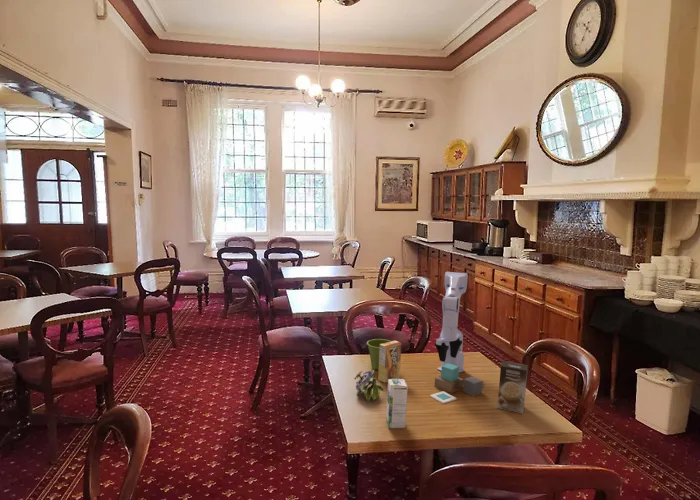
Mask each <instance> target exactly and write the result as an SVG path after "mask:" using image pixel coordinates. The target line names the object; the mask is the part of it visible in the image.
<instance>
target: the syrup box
mask: <svg viewBox="0 0 700 500" xmlns="http://www.w3.org/2000/svg"><path fill="white" fill-rule="evenodd" d="M408 387H409V386H408V384H407V382H406V380H405V379H403V378H398V379H388V382H387V392H386V393H387V395H386V407H385V410H386V414H385V421H386V425H387V428H388V429H405V428H406V420H407V405H408V404H407V402H408Z"/></svg>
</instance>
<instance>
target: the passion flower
mask: <svg viewBox="0 0 700 500" xmlns="http://www.w3.org/2000/svg"><path fill="white" fill-rule="evenodd" d="M375 372H376V369H372V371H371V370H369V371H366V372H363V371H362V370H361V371H359V373H357V374H356V375H355V377H354V380H357V379H358V380H357V381H356V385H355V390H357V391H356V395H359V394H360V393H361V392H362V391H364V393H365V399H366V402H368V403H371V401H370V400H371V398H372V401H375V400H377V399H378V398H379V396H380V393H381V392H383V393H384V392H385V389H386V388H385V387H386V385H377V379H376V373H375ZM362 373H363V374H362ZM380 391H381V392H380Z"/></svg>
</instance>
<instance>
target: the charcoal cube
mask: <svg viewBox="0 0 700 500" xmlns="http://www.w3.org/2000/svg"><path fill="white" fill-rule="evenodd" d="M463 379H464V381H463V388H462V389H463V392H464V393H466V394H469V395H471V396H472V397H474V396H477V395H480V394H482V393H483V385H484V384H483V383H484V381H483V380H482V379H480V378H477V377H475V376H470V377H467V378H463Z"/></svg>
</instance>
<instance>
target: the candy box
mask: <svg viewBox="0 0 700 500" xmlns="http://www.w3.org/2000/svg"><path fill="white" fill-rule="evenodd" d="M390 341H391V342H387V343H383V344H380V352H379V370H378V375H377V377H378V378H377V379H378V381H380V382H382V383H388V379H401V378H400V375H401V358H402V357H401V355H402V342H400V341H397V340H390Z"/></svg>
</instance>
